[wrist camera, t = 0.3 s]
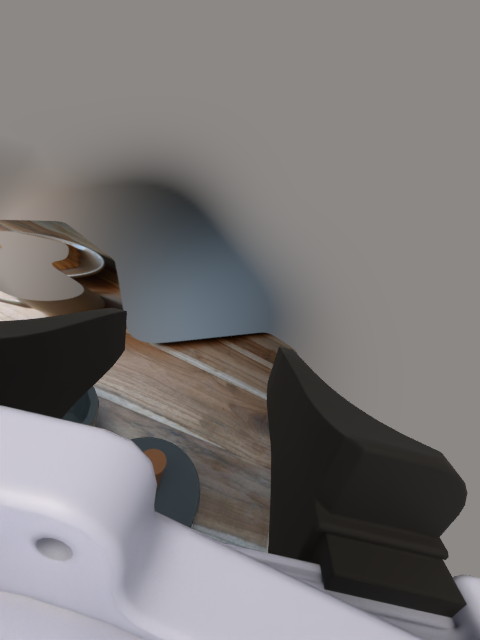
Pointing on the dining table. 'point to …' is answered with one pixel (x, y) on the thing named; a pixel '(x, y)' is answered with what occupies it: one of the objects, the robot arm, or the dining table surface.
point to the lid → (172, 479)
